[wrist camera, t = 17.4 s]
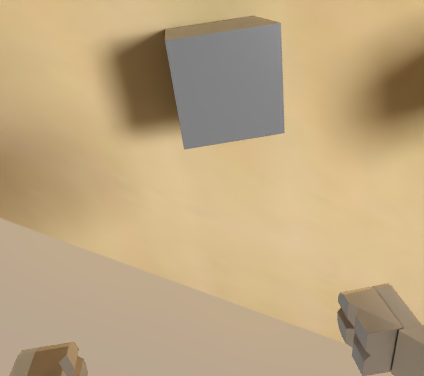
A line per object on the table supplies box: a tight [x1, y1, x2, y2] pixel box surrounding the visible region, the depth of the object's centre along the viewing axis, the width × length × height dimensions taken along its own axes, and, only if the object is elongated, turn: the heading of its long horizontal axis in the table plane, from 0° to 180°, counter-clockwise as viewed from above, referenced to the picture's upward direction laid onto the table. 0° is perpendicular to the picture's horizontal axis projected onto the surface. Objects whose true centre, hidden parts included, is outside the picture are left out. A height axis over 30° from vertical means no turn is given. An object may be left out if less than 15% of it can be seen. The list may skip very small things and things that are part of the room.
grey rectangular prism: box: [165, 16, 284, 149], centre depth 27 cm, size 7×7×8 cm
